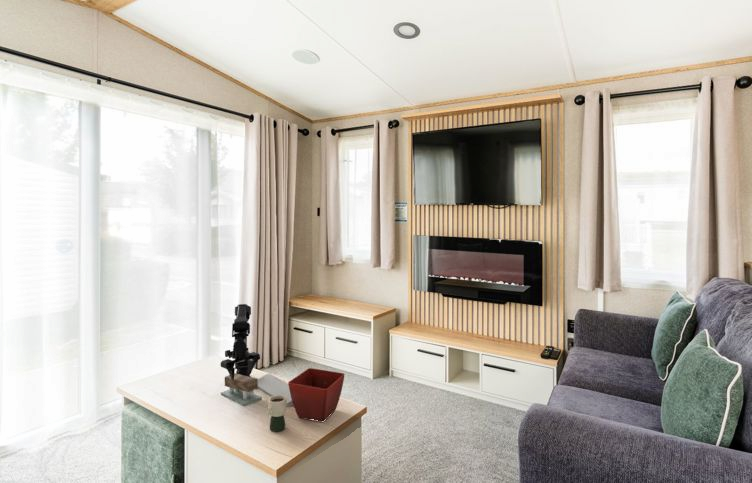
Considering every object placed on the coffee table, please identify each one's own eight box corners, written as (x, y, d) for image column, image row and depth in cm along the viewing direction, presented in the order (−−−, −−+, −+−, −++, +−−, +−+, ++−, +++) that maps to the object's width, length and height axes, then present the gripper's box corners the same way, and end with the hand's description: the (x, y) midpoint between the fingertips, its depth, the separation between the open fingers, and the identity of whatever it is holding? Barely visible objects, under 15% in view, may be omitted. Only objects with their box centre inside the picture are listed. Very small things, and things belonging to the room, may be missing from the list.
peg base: (238, 388, 208) (238, 378, 208) (261, 399, 196) (261, 389, 196) (221, 394, 201) (220, 384, 200) (243, 406, 188) (243, 395, 188)
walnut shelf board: (257, 387, 197) (257, 378, 197) (248, 392, 192) (248, 383, 191) (234, 381, 204) (233, 373, 204) (224, 385, 199) (224, 377, 199)
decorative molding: (288, 412, 189) (306, 401, 195) (286, 403, 187) (303, 392, 194) (254, 390, 213) (271, 380, 220) (252, 382, 212) (268, 372, 219)
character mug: (279, 421, 174) (279, 391, 174) (292, 425, 171) (292, 395, 170) (261, 432, 165) (261, 401, 164) (274, 437, 161) (274, 405, 161)
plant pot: (326, 428, 169) (326, 389, 168) (287, 420, 175) (287, 382, 175) (345, 408, 187) (345, 373, 186) (309, 402, 193) (309, 367, 192)
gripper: (248, 338, 209) (248, 368, 210) (214, 347, 195) (214, 378, 195) (260, 343, 202) (260, 373, 203) (226, 351, 188) (227, 384, 188)
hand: (241, 377), depth 198 cm, fingers open, 9 cm apart
